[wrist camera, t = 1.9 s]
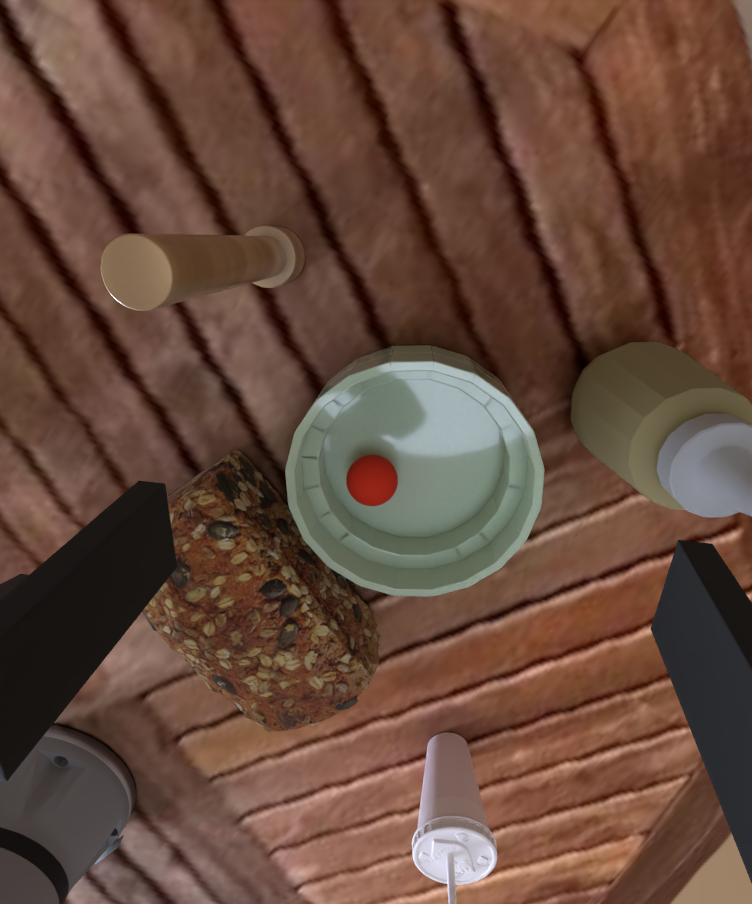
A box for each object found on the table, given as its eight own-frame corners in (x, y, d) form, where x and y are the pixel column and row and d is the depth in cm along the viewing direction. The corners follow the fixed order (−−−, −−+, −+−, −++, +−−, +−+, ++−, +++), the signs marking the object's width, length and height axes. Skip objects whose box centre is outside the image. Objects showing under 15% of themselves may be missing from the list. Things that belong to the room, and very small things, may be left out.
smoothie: (452, 709, 49) (465, 879, 36) (498, 752, 51) (526, 930, 38) (397, 743, 51) (391, 916, 38) (443, 784, 53) (452, 964, 40)
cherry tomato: (359, 498, 42) (354, 521, 38) (342, 455, 41) (335, 475, 37) (405, 485, 41) (404, 506, 38) (389, 441, 40) (386, 459, 37)
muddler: (264, 291, 38) (115, 344, 19) (241, 238, 37) (60, 237, 18) (313, 273, 37) (209, 308, 18) (292, 217, 36) (159, 195, 17)
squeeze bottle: (624, 466, 40) (773, 629, 24) (532, 408, 39) (619, 536, 23) (704, 372, 38) (937, 480, 21) (608, 307, 37) (771, 366, 20)
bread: (386, 614, 46) (378, 709, 37) (284, 668, 49) (253, 769, 40) (244, 434, 41) (194, 492, 32) (141, 505, 44) (67, 576, 35)
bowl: (349, 573, 45) (339, 621, 40) (268, 386, 40) (245, 411, 34) (549, 518, 42) (570, 561, 37) (491, 309, 37) (504, 322, 32)
